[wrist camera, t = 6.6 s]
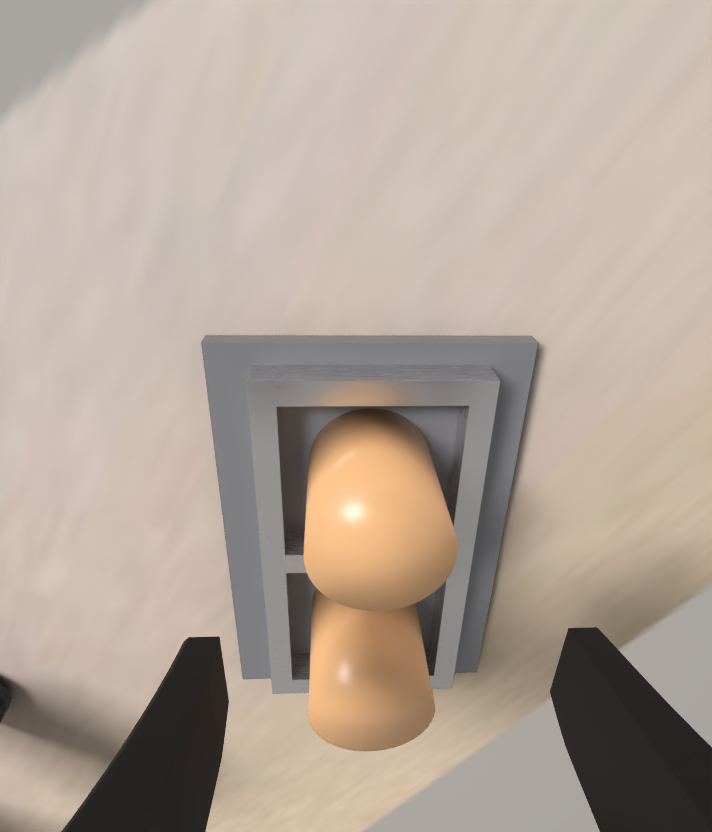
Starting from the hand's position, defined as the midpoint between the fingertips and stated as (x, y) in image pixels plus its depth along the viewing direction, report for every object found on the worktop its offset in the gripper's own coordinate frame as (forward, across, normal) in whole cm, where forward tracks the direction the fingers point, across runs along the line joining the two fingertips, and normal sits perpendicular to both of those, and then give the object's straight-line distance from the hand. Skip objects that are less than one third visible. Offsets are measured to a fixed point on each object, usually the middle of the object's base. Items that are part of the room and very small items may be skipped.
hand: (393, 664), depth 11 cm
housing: (+8, 0, +3) cm, 9 cm away
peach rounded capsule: (+8, 0, 0) cm, 8 cm away
